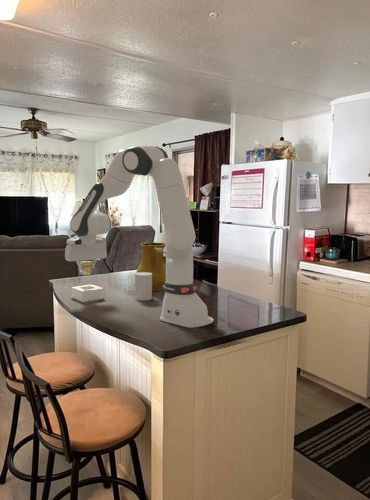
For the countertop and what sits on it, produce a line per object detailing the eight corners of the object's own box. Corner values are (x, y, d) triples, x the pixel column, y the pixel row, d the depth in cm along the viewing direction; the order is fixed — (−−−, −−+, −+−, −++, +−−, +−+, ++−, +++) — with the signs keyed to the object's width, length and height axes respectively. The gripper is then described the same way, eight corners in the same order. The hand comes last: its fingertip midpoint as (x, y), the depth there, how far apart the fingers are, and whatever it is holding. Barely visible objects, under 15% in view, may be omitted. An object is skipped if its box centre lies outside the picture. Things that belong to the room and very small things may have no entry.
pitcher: (171, 285, 219) (170, 240, 215) (166, 294, 201) (165, 246, 196) (140, 284, 221) (139, 240, 216) (133, 294, 202) (131, 246, 198)
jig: (103, 298, 188) (103, 288, 187) (82, 302, 181) (82, 291, 180) (92, 294, 196) (92, 284, 195) (71, 297, 189) (71, 287, 188)
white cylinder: (148, 300, 186) (149, 275, 184) (132, 299, 187) (132, 274, 186) (153, 296, 194) (154, 272, 192) (137, 295, 195) (138, 271, 194)
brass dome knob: (95, 274, 187) (95, 262, 186) (83, 275, 182) (83, 263, 182) (89, 272, 191) (89, 260, 190) (77, 273, 187) (77, 261, 186)
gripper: (102, 238, 194) (102, 266, 196) (63, 240, 180) (63, 270, 182) (109, 239, 189) (109, 268, 191) (69, 241, 176) (69, 272, 177)
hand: (86, 269), depth 186 cm, fingers closed on brass dome knob, 4 cm apart
